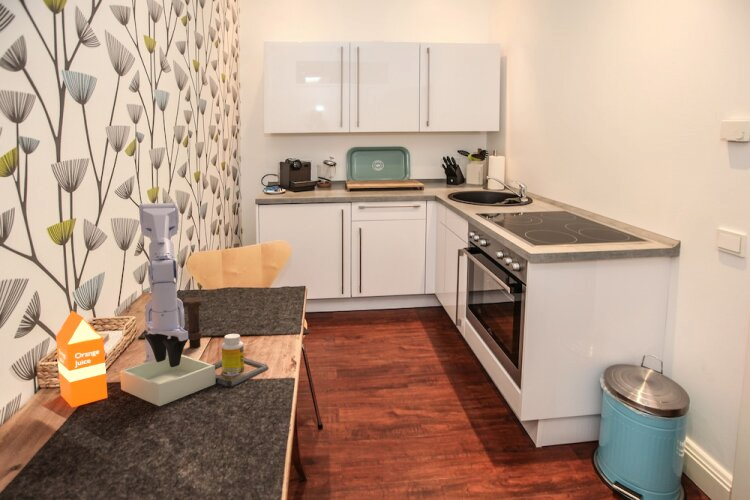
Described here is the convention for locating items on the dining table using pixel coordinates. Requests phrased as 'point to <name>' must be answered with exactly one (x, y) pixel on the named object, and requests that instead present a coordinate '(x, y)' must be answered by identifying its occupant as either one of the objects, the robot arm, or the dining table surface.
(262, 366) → the socket collar
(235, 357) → the supplement bottle
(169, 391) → the bin
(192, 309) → the bolt
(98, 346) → the orange juice
